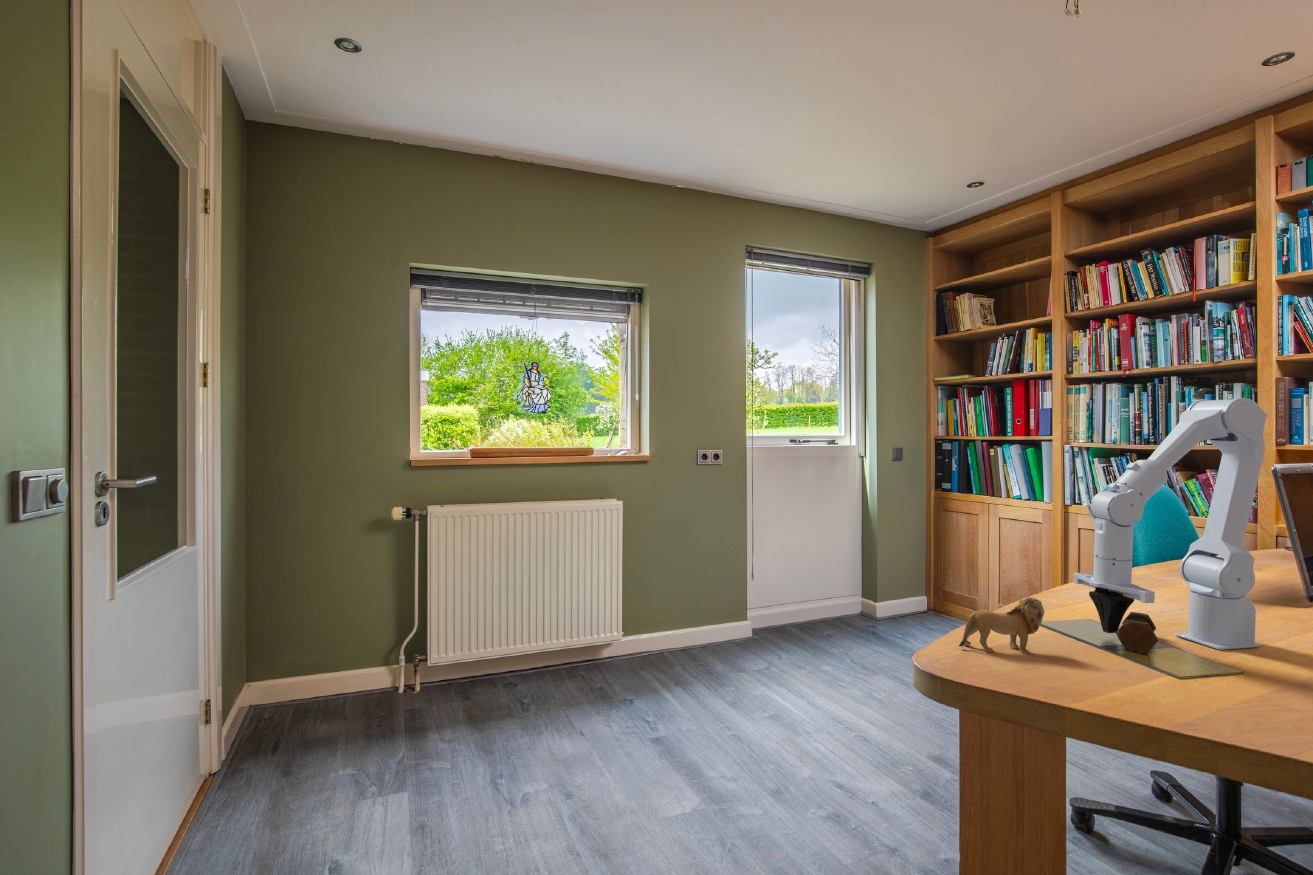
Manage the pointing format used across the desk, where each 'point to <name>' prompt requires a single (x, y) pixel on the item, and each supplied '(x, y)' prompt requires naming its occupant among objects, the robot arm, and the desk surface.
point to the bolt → (1137, 633)
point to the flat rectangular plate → (1156, 658)
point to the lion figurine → (1006, 623)
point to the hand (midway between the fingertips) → (1110, 631)
